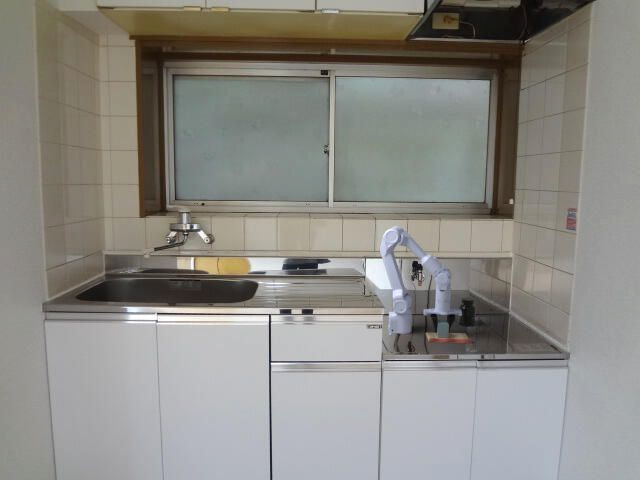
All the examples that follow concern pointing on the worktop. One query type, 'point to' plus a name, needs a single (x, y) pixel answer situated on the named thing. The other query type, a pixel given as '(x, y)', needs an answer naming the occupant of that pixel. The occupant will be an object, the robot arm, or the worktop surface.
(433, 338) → the shelf board
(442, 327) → the tea box
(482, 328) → the worktop surface
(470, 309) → the supplement bottle
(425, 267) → the robot arm
